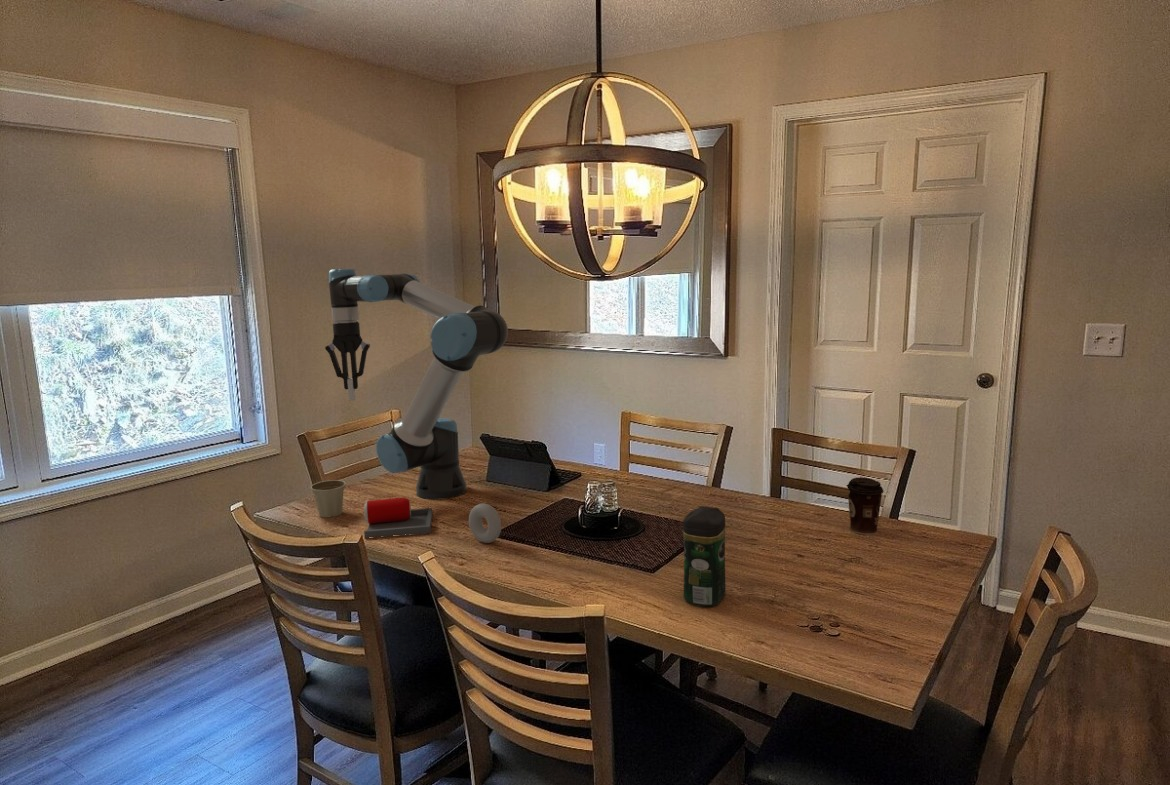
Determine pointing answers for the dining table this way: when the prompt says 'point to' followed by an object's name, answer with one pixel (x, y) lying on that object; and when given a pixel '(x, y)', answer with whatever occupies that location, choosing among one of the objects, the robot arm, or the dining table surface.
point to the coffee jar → (704, 556)
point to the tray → (403, 525)
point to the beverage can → (387, 510)
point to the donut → (492, 520)
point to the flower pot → (329, 497)
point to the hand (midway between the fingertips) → (352, 399)
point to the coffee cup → (864, 505)
